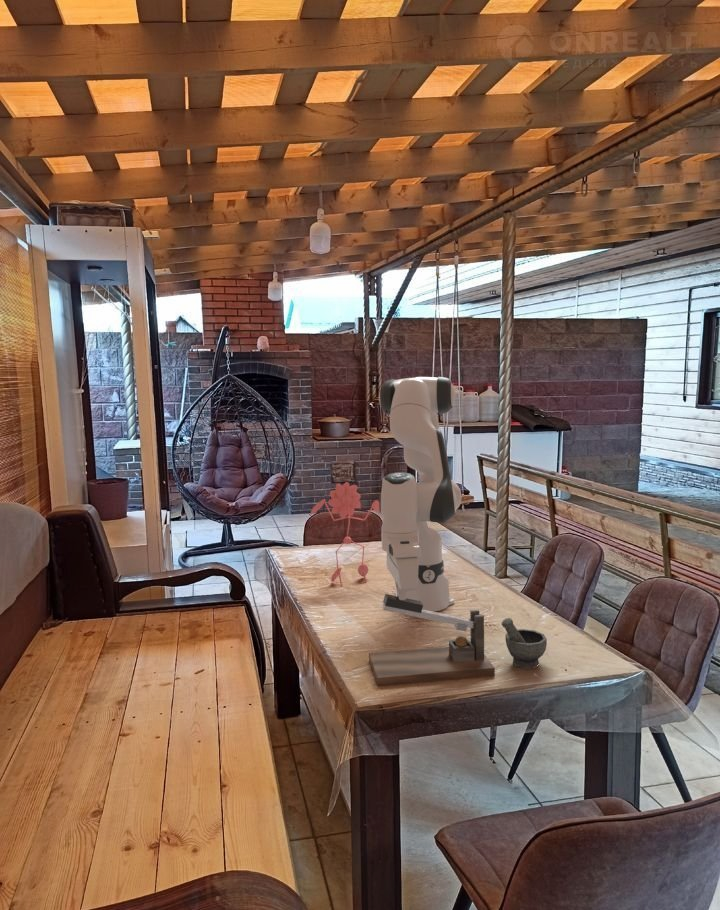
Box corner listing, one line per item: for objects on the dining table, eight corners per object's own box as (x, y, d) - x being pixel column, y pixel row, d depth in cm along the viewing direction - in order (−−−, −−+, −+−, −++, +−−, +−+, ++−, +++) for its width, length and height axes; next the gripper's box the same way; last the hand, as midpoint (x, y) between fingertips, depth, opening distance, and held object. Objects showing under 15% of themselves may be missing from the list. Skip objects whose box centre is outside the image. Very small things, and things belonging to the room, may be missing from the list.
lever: (380, 610, 158) (385, 593, 158) (473, 629, 162) (477, 613, 161) (382, 615, 155) (387, 597, 155) (477, 634, 159) (481, 617, 158)
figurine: (389, 579, 231) (385, 481, 227) (319, 590, 221) (315, 488, 218) (372, 569, 245) (368, 477, 242) (306, 579, 235) (301, 483, 232)
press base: (369, 660, 165) (367, 610, 163) (476, 651, 168) (476, 603, 167) (377, 686, 151) (376, 632, 149) (494, 675, 154) (494, 622, 153)
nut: (453, 645, 161) (453, 634, 161) (465, 644, 162) (465, 633, 161) (457, 650, 158) (457, 638, 158) (469, 649, 159) (469, 637, 158)
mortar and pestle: (534, 653, 166) (534, 607, 165) (553, 668, 157) (554, 620, 156) (493, 659, 164) (493, 613, 162) (511, 675, 155) (511, 626, 153)
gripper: (380, 532, 165) (381, 586, 166) (394, 552, 145) (396, 613, 146) (404, 531, 166) (405, 584, 167) (422, 551, 146) (423, 611, 147)
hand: (401, 598), depth 157 cm, fingers closed, pressing on lever
